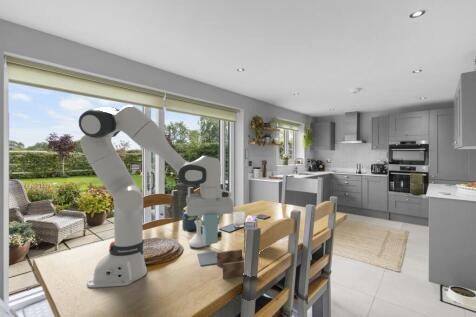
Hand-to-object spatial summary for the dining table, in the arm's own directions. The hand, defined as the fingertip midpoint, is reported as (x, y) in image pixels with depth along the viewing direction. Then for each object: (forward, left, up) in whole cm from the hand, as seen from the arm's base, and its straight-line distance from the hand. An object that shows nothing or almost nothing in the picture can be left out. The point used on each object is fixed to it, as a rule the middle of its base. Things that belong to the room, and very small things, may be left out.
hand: (210, 224), depth 104 cm
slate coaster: (+1, +14, -21) cm, 25 cm away
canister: (-2, +66, -22) cm, 69 cm away
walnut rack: (+10, 0, -21) cm, 24 cm away
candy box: (+26, +21, -22) cm, 40 cm away
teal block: (0, 0, -7) cm, 7 cm away
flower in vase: (-2, +33, -21) cm, 39 cm away
